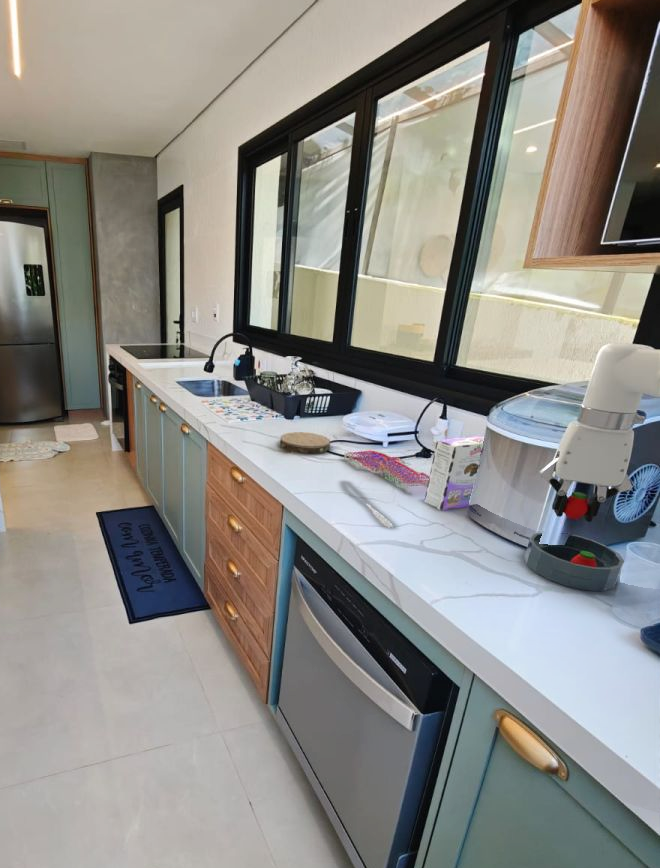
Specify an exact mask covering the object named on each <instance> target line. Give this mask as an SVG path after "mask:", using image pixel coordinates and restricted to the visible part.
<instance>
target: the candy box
mask: <svg viewBox="0 0 660 868" xmlns="http://www.w3.org/2000/svg"><path fill="white" fill-rule="evenodd" d="M484 437H485V436H483V435H474V436H473V435H472V436H463V437H455V438H443V439H437V440H436V444H435V449H434V453H433V457H432V463H431V467H430V473H429V479H428V480H429V481H427V482H428V485H426V486H427V487H426V492H425V496H424V503H426V504H428V505H430V506H432V507H434V508H436V509H438V510H439V511H445V510H451V509H458V508H459V509H460V508H465V507H470V506H469V500H470V496H471V493H472V489H473V485H474V481H475V478H476V474H477V469H478V465H479V459H480V454H481V450H482V446H483V441H484Z"/></svg>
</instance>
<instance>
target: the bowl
mask: <svg viewBox="0 0 660 868" xmlns="http://www.w3.org/2000/svg"><path fill="white" fill-rule="evenodd" d="M541 536H542V533H539V532H534V533H533V534H532V535H531V536H530V537H529V541H528V543H527V547H526V551H525V554H524V556H523V557H524V561H525V564H526V566H527V567H528V568H529V569H531V570H532V571H533V572H534V573H536V574H538V575H539V576H541V577H543V578H545V579H547V580H548V581H551V582H554V583H557V584H559V585H562V586H565V587H567V588H572V589H577V590H581V591H588V592H603V591H604V592H605V591H608V590H611V589H614V588H615V585H616V583H617V581H618V579H619V577H620V573H621V571H622V568H623V566H624V563H625V560H624V558H623V557H622V556H621V554H620V553H618V552H617V551H616V550H614V549H613V548H611V547H609V546H608V545H605V544H603V543H601V542H598V541H596V540H594V539H591V538H587V537H585V536H581V535H577V534H573V535H569V537H568V539H567V541H566V543H565V545H548V544H539V542H540V538H541ZM580 551H588V552H591V553H593V554H594V555H595V557H594V559H595V562H596V564H597V567H589V566H584V565H579V564H574V563H571V560H572V559H573V558H574V557H575V556H577V555H578V554H580Z"/></svg>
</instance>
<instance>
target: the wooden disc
mask: <svg viewBox="0 0 660 868" xmlns="http://www.w3.org/2000/svg"><path fill="white" fill-rule="evenodd" d="M279 443H280V444H279V448H280V449H281V450H283V451H285V452H287V453H290V454H291V453H297V454H305V455H318V454H324V453H326V452H328V451H329V450H330V446H331V445H330V444H331V440H330V438H328V437H327V436H324V435H323V434H318V433H313V432H303V431H297V432H295V431H293V432H287V433H283V434H282V435H280V439H279Z"/></svg>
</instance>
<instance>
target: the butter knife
mask: <svg viewBox="0 0 660 868" xmlns="http://www.w3.org/2000/svg"><path fill="white" fill-rule="evenodd" d="M366 506H367V507H368V509H370V511H371V512H372V514H373V515H374V516H375V517H376V518H377V519H378V521H379V522H380V523H381V524H382V525H384V526H385V527H386V528H389V529H390V528H391V529H392V528H394V524H392V522H391V521H390V520H389V519H387V518H386V517H385V516H384V515H383V514H381V513H380V512H379V511H377V509H375V508H374V507H373V506H371V505H370V504H369V503H366Z"/></svg>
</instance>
